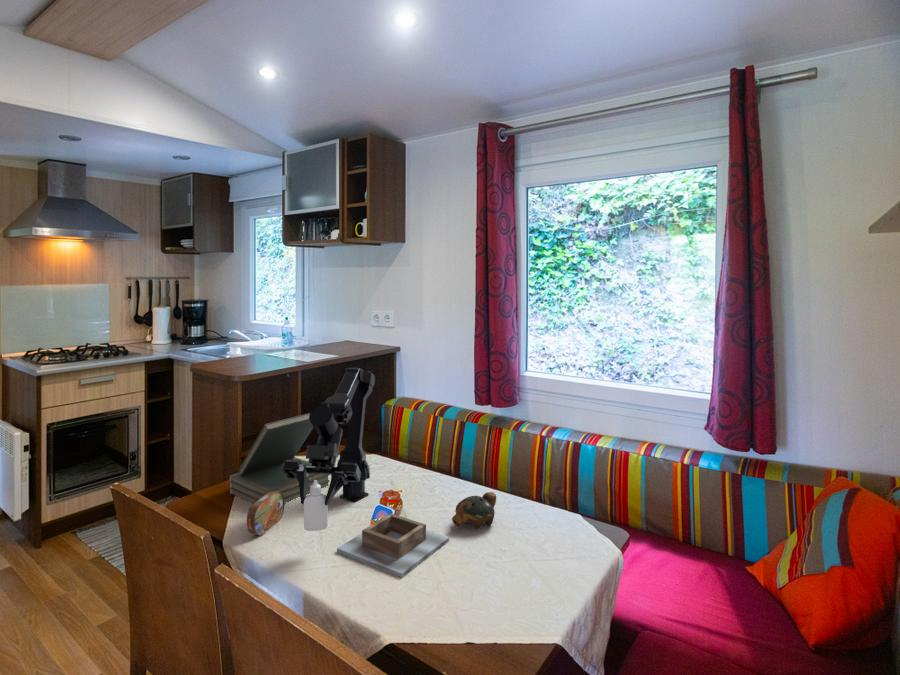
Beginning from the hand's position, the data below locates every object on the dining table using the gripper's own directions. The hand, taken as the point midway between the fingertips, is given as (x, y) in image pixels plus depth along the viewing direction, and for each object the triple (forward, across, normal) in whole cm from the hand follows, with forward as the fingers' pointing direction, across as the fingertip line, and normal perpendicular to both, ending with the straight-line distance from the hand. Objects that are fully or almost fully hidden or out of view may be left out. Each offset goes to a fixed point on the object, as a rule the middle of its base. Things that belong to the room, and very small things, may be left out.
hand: (313, 504), depth 124 cm
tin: (+1, -18, +18) cm, 26 cm away
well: (+5, +18, +14) cm, 23 cm away
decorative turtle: (-5, +38, +24) cm, 46 cm away
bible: (-16, -24, +36) cm, 46 cm away
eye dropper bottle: (+4, 0, +6) cm, 7 cm away
